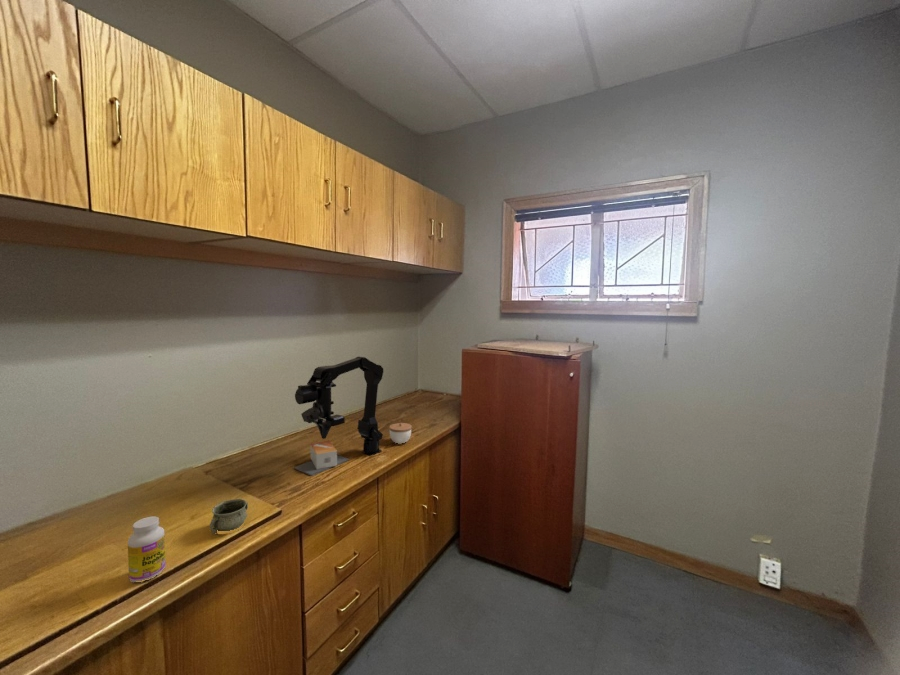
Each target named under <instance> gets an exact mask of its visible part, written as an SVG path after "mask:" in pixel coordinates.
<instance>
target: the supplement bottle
mask: <svg viewBox="0 0 900 675" xmlns="http://www.w3.org/2000/svg"><path fill="white" fill-rule="evenodd" d="M159 524H160V518H159V517H158V516H147V517H144V518H141V519H138V520H137V521H136V522H134V523H133V524H132V531H133V533H132V534H131V535H130V536H129V538H128V540H127V559H128V560H127V561H128V578H129V579H130V580H129V581H130V582H131V581H132V582H131V583H134V582H136V581H142V580H145V579H149V578H152V577H154V576H156V575H158V574H159V573H160V572H161V571H162V570H163V569H164V568H166V539H165V536H166V535H165V529H164V528H163V527H162V526H160V525H159ZM164 570H165V569H164ZM164 570H163V571H164ZM159 575H160V574H159ZM159 575H158V576H159Z"/></svg>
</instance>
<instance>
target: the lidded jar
mask: <svg viewBox="0 0 900 675" xmlns="http://www.w3.org/2000/svg"><path fill="white" fill-rule="evenodd" d="M411 435H412V424H410V423H407V422H406V423H405V422H398V423H397V422H396V423H393V424H390V425H389V437H390V439H391V440H392V442H393V443H394V442H395V443H394V444H396V443H398V444H397V445H402V444H401V443H405V442H406V443H408V441H409V440H410V438H411ZM406 443H405V444H406Z"/></svg>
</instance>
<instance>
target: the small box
mask: <svg viewBox="0 0 900 675" xmlns="http://www.w3.org/2000/svg"><path fill="white" fill-rule="evenodd" d="M337 455H338V450H337V448H335V446H334V445H333V443H332V442H331V441H330V440H325V441H320V442H313V443H310V461H312V462H313V464H314V465H315V467H316V469H322V468H327V467H332V466H334V467H337V466H338V465H337ZM336 465H337V466H336ZM332 468H333V467H332Z"/></svg>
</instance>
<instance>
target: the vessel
mask: <svg viewBox="0 0 900 675" xmlns="http://www.w3.org/2000/svg"><path fill="white" fill-rule="evenodd" d="M248 507H249V504H248V502H247V501H246V500H245V499H243V498H234V499H228V500H227V499H226V500H225V501H222V502H219V503H218V504H216V505H215V506H213V508H212V509H211V510H212V511H211V512H212V514H213V516H212V519H211V521H210V523H209V530H210V531H212V533H211V534H212V535H216V534H215V533H217V530H218V531H230V530H234V529H237V528H239V527H240V526H241V525H242V524H243V523H244V522H245V520H246V519H247V517H248V514H247V510H248Z"/></svg>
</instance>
